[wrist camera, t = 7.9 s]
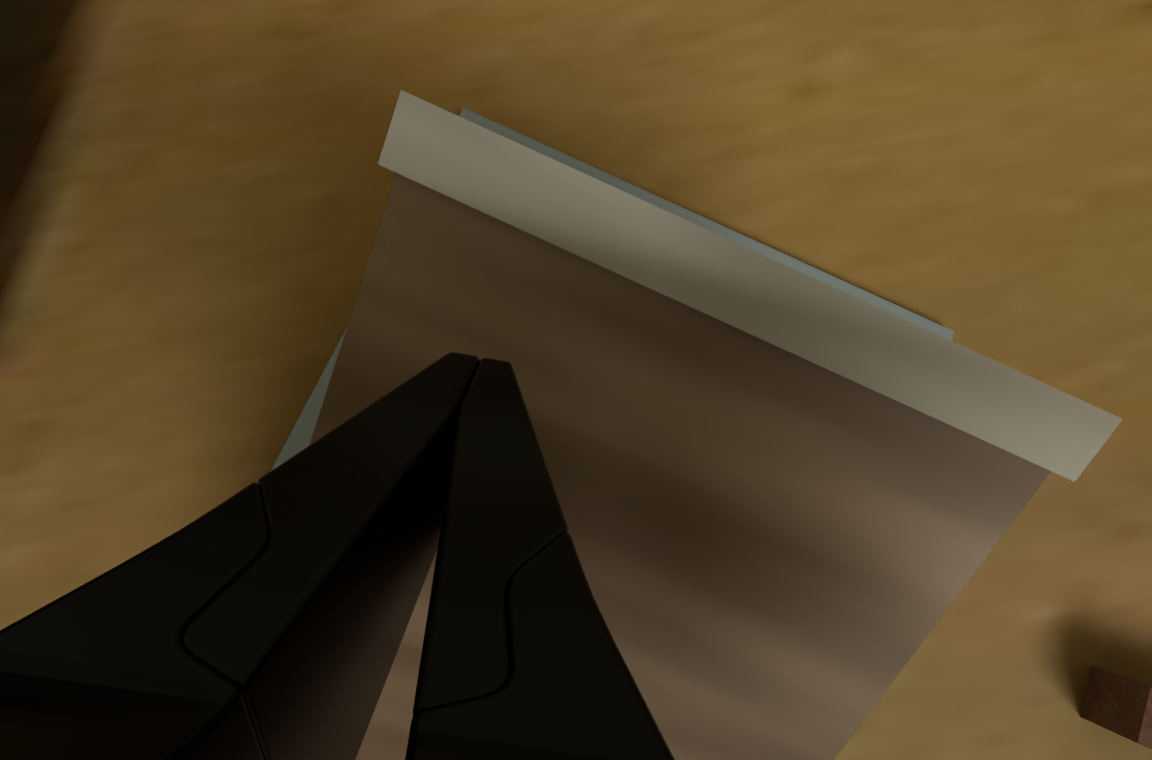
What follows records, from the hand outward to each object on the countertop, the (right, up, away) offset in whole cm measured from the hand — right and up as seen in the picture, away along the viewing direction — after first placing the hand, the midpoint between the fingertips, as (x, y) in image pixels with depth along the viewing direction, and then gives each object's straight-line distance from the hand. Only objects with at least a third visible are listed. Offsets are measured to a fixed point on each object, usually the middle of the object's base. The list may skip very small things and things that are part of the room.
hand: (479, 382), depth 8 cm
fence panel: (-2, -12, +5) cm, 13 cm away
